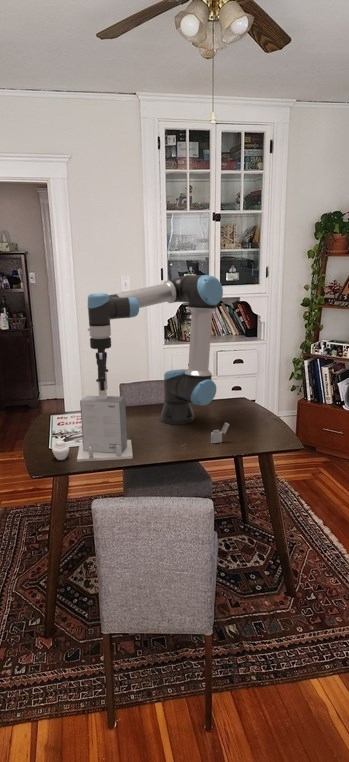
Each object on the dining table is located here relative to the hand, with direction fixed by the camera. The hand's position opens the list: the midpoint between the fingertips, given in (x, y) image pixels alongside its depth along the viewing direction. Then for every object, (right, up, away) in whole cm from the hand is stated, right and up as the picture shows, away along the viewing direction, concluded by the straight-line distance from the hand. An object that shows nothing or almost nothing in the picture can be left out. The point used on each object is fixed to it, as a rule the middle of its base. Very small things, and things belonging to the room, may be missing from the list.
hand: (103, 394), depth 181 cm
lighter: (+44, -20, +13) cm, 50 cm away
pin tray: (0, -22, +5) cm, 23 cm away
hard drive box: (0, -21, +5) cm, 22 cm away
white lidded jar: (-15, -24, -1) cm, 28 cm away
